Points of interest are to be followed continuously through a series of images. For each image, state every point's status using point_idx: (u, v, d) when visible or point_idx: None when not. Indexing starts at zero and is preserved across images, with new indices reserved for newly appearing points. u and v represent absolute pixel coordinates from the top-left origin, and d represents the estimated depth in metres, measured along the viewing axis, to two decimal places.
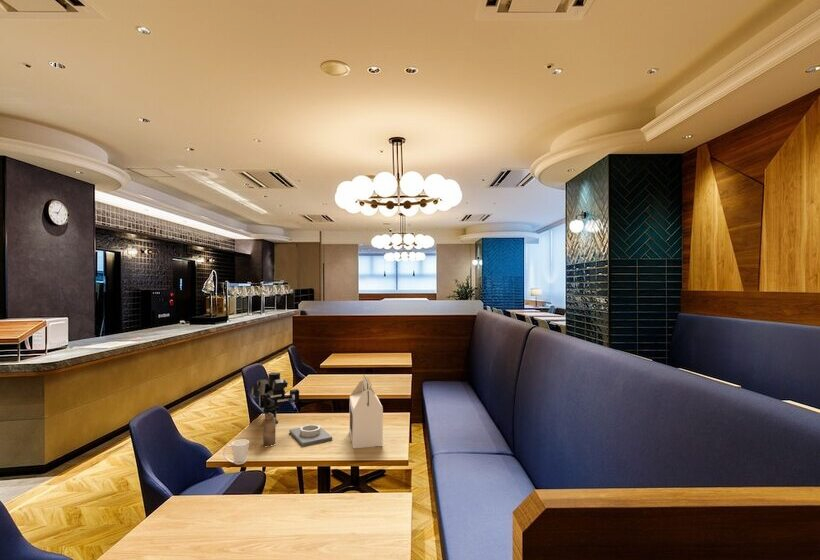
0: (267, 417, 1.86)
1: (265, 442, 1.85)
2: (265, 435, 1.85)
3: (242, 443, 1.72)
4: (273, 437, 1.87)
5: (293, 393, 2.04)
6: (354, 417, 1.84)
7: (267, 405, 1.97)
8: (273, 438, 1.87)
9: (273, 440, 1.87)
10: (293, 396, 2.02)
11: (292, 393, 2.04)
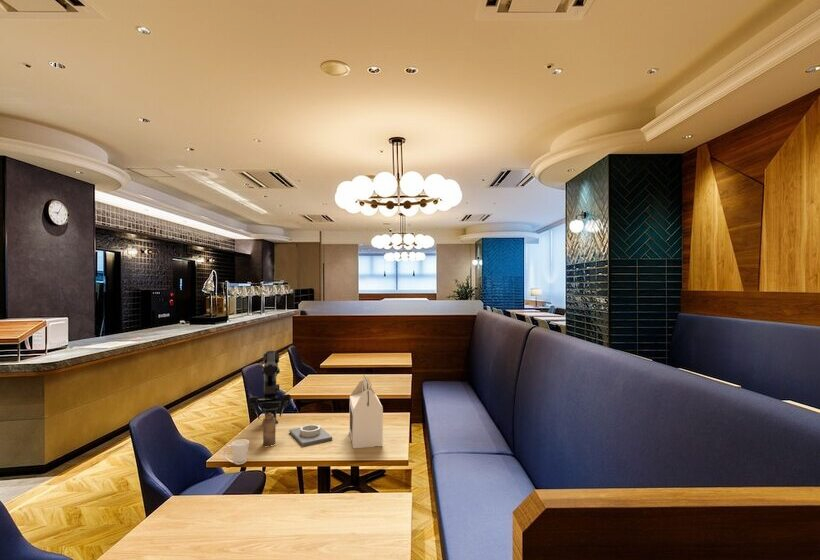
0: (267, 417, 1.86)
1: (265, 442, 1.85)
2: (265, 435, 1.85)
3: (242, 443, 1.72)
4: (273, 437, 1.87)
5: (283, 402, 1.96)
6: (354, 417, 1.84)
7: (255, 409, 1.95)
8: (273, 438, 1.87)
9: (273, 440, 1.87)
10: (281, 407, 1.95)
11: (282, 402, 1.96)
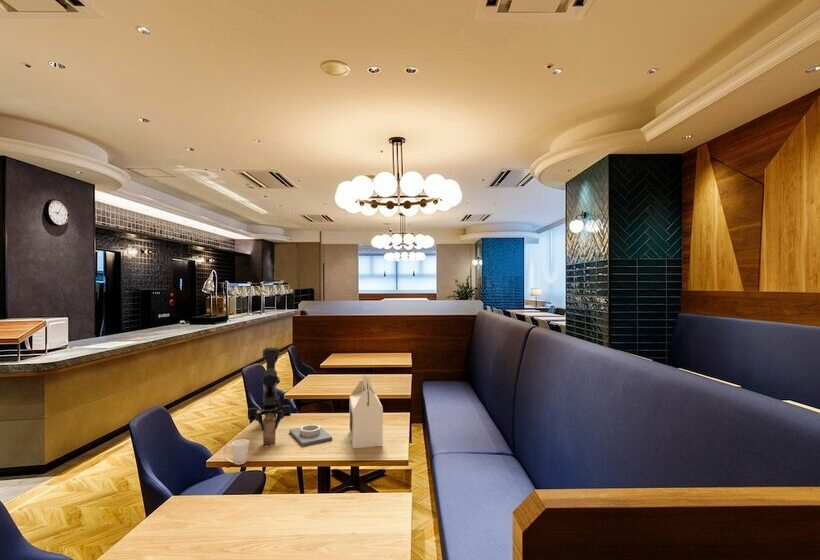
0: (267, 417, 1.86)
1: (265, 442, 1.85)
2: (265, 435, 1.85)
3: (242, 443, 1.72)
4: (273, 437, 1.87)
5: (279, 414, 1.90)
6: (354, 417, 1.84)
7: (258, 421, 1.90)
8: (273, 438, 1.87)
9: (273, 440, 1.87)
10: (277, 420, 1.89)
11: (278, 414, 1.90)
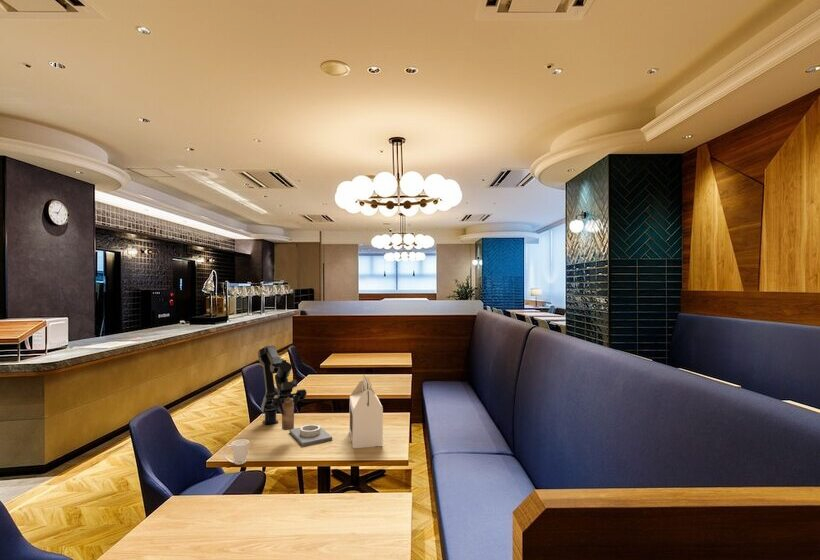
0: (287, 401, 1.89)
1: (285, 426, 1.88)
2: (285, 419, 1.88)
3: (242, 443, 1.72)
4: (293, 420, 1.90)
5: (296, 398, 1.94)
6: (354, 417, 1.84)
7: (275, 406, 1.92)
8: (293, 421, 1.90)
9: (293, 423, 1.91)
10: (295, 403, 1.93)
11: (295, 398, 1.94)
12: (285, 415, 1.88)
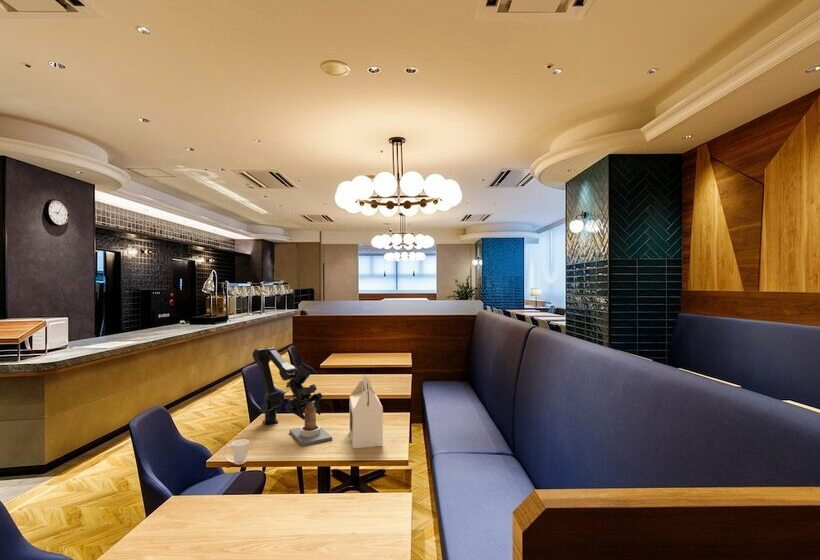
0: (311, 407, 1.97)
1: None
2: (310, 424, 1.96)
3: (242, 443, 1.72)
4: (315, 425, 1.98)
5: (318, 401, 2.04)
6: (354, 417, 1.84)
7: (294, 412, 1.95)
8: (315, 426, 1.98)
9: (315, 427, 1.99)
10: (318, 406, 2.02)
11: (317, 401, 2.03)
12: (309, 420, 1.96)
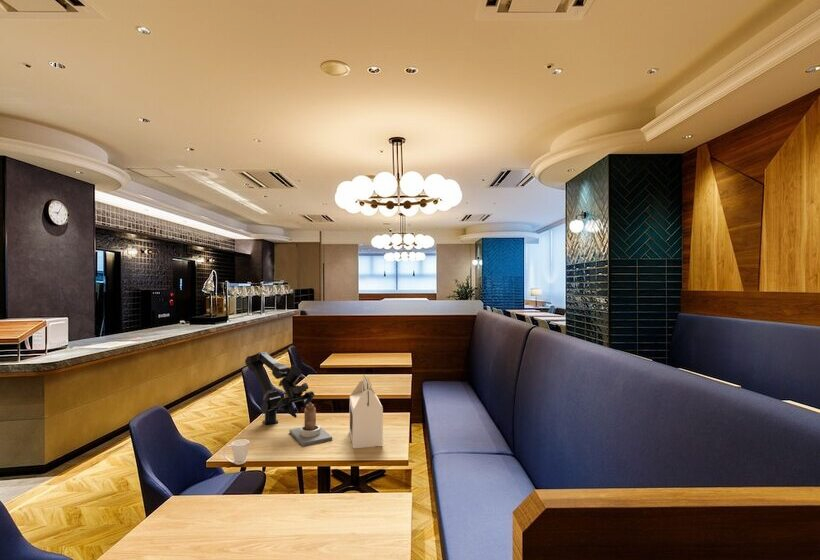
0: (310, 406, 1.97)
1: (310, 430, 1.95)
2: (310, 424, 1.96)
3: (242, 443, 1.72)
4: (315, 425, 1.98)
5: (310, 399, 2.07)
6: (354, 417, 1.84)
7: (286, 410, 1.99)
8: (315, 426, 1.98)
9: (315, 427, 1.99)
10: None
11: (309, 399, 2.07)
12: (309, 420, 1.96)
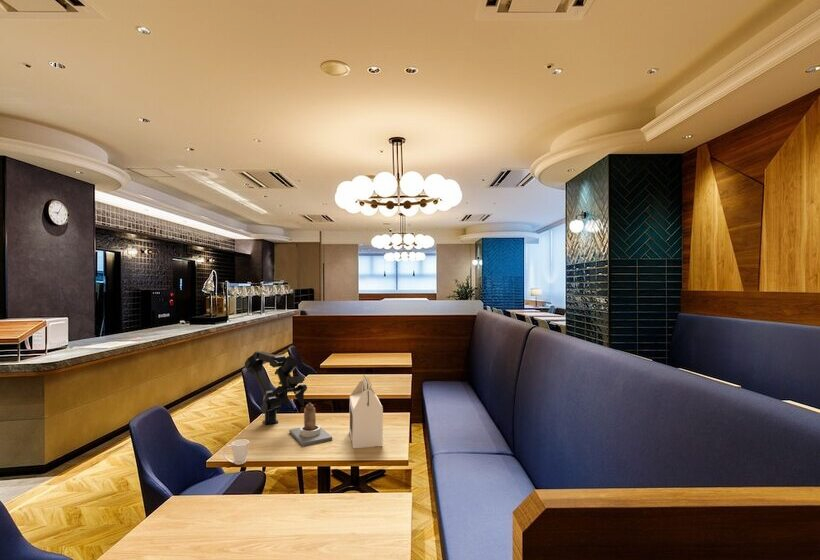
0: (310, 407, 1.96)
1: None
2: (309, 424, 1.95)
3: (242, 443, 1.72)
4: (315, 425, 1.98)
5: (303, 392, 2.10)
6: (354, 417, 1.84)
7: (280, 398, 2.00)
8: (315, 426, 1.98)
9: (315, 427, 1.98)
10: (302, 397, 2.08)
11: (302, 392, 2.09)
12: (309, 420, 1.95)
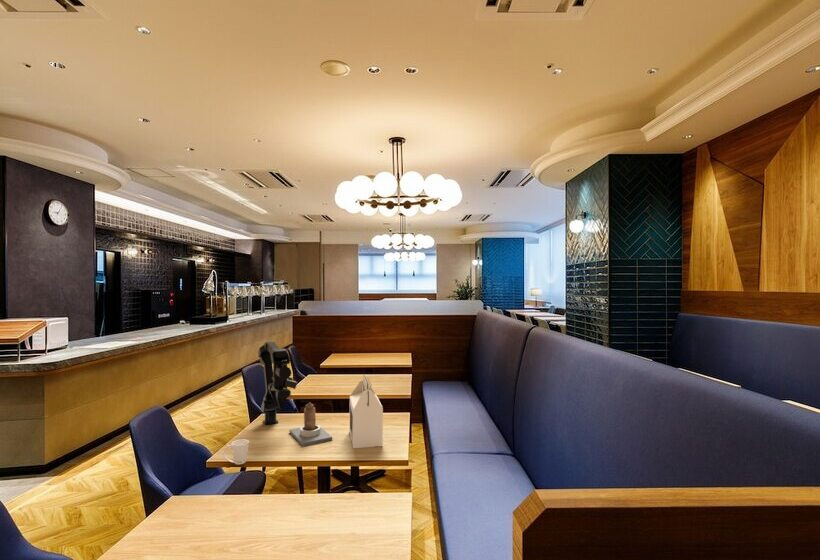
0: (310, 406, 1.97)
1: (309, 430, 1.95)
2: (309, 424, 1.96)
3: (242, 443, 1.72)
4: (315, 424, 1.98)
5: None
6: (354, 417, 1.84)
7: (279, 399, 1.98)
8: (315, 425, 1.98)
9: (315, 427, 1.98)
10: None
11: None
12: (309, 420, 1.96)
